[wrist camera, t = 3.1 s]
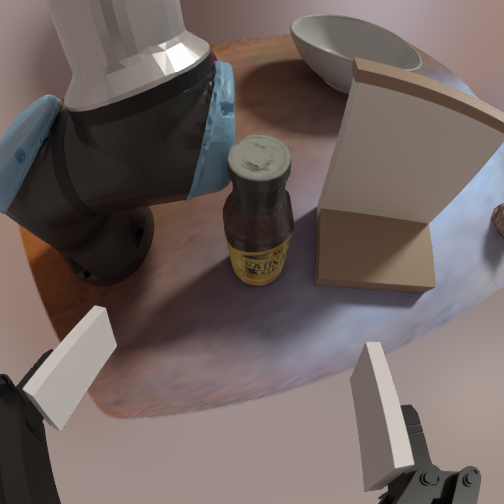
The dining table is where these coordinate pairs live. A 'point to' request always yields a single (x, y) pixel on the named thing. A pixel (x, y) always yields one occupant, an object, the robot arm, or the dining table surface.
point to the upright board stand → (397, 176)
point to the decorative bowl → (348, 47)
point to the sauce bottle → (258, 209)
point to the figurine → (499, 218)
